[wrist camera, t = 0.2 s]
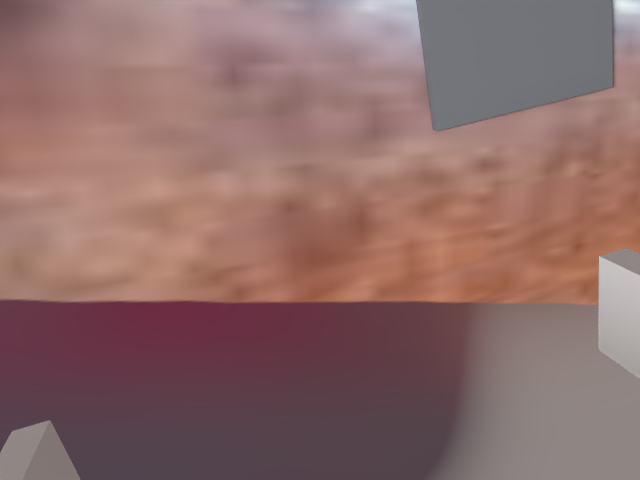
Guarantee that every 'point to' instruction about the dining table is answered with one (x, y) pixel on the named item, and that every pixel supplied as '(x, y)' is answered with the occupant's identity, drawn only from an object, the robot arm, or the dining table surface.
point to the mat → (512, 54)
